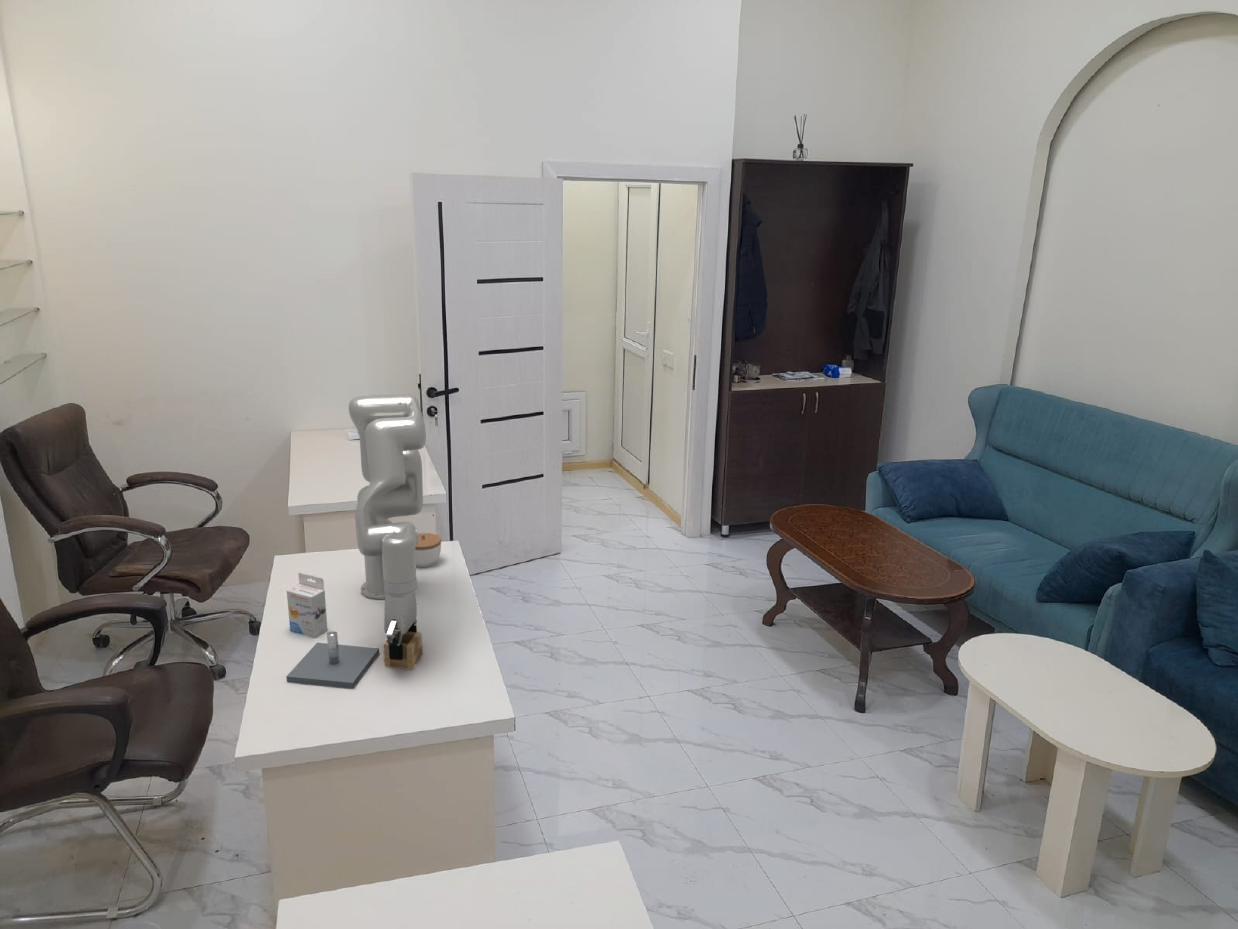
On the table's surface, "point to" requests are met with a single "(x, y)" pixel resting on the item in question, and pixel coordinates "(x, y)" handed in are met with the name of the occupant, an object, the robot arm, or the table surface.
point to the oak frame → (406, 651)
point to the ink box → (307, 606)
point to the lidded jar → (427, 549)
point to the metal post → (333, 647)
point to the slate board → (333, 666)
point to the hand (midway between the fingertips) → (403, 649)
